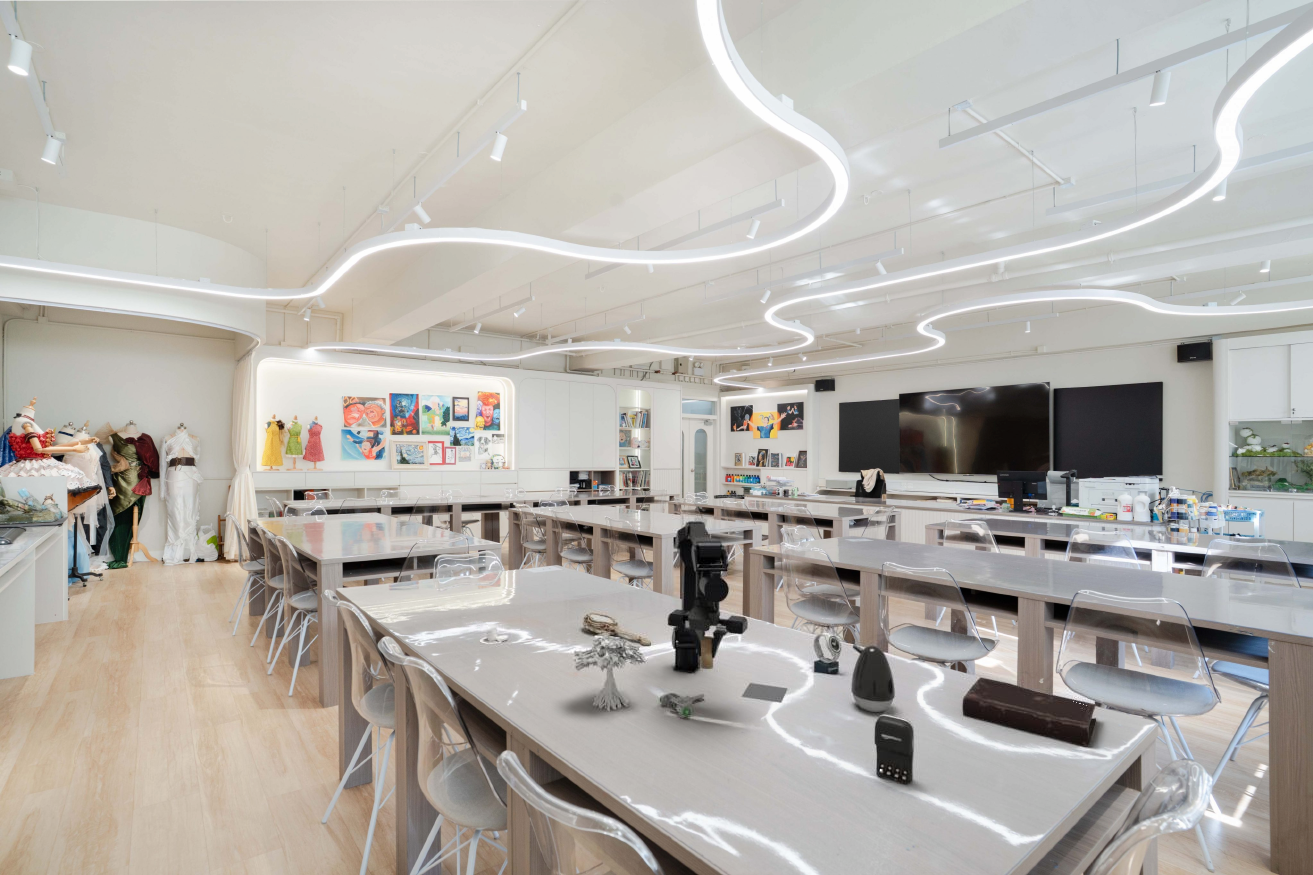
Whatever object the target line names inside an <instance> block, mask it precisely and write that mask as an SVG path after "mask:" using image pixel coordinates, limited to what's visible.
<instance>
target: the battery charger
mask: <svg viewBox="0 0 1313 875" xmlns="http://www.w3.org/2000/svg"><path fill="white" fill-rule="evenodd" d="M874 745H875V747H876V748H875V749H876V751H875V752H876V768H875V769H876V775H878V776H879V777H881V778H883V779H886V780H890V781H893V782H897V783H901V784H905V785H908V784H910V783H911V782H912V781H913V780H914V759H915V758H914V757H915V756H914V755H915V754H914V753H915V729H914V725H913V723H912V722H911V721H910V720H908V719H905V718H902V717H898V716H895V715H890V714H881V715H879V717H878V718H877V719H876V721H875V724H874Z"/></svg>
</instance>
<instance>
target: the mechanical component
mask: <svg viewBox="0 0 1313 875" xmlns="http://www.w3.org/2000/svg"><path fill="white" fill-rule="evenodd" d="M705 697H706V695H705V694H704V693H702V694H697V695H694V696H689V695H686V696H685V697H684V696H682V695H680V694H677V693H675V692H669V693H665V694H663V695H661V696H660V697H659V702H660V704H661V705H662V706H663V707H668V708H669V707H670V708H671V709H673V710H669V712H670V713H672V714H674V715H676V716H678V717H680V718H682V719H684V718H686V717H689V716H692V714H691V713H692V712H693V704H696V703H701V702H703V701H705ZM674 710H676V711H674Z"/></svg>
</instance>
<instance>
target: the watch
mask: <svg viewBox="0 0 1313 875" xmlns="http://www.w3.org/2000/svg"><path fill="white" fill-rule="evenodd" d="M822 636H824V639H825V646H826V648H827V650H828V651H829V653H830V655H831V657H832V658H828V657H825V656H824V655H825V654H824V651H823V649H822V646H821V643H820V638H821V637H822ZM812 645H813V649H814V652H815V655H816V656H817V658H818V660H815V661H813V673H816V674H823V675H825V674H826V675H832V676H833V675H836V674H839V673H840V670H839V668H840V667H839V666H840V665H839V663H840V662H839V661H838V659H839V657H840V655H841V652H842V644H841V641H840V640H839V638H838V637H836V636H835V635H833V634H832V633H829V632H822V633H819V634H817V635H816V636H815V637H814V639H813V644H812Z"/></svg>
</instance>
